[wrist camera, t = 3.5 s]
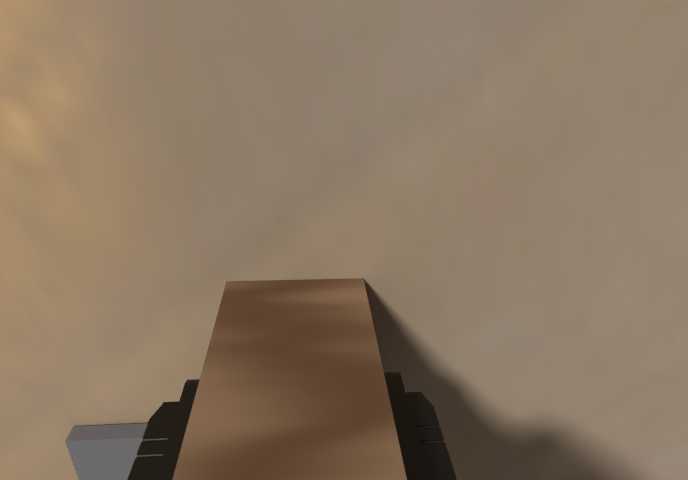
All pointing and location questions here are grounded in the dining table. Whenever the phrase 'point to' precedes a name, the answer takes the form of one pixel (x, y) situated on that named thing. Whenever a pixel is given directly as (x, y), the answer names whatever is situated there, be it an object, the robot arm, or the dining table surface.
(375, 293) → the dining table surface
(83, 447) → the slate pad
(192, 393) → the robot arm
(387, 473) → the walnut block
